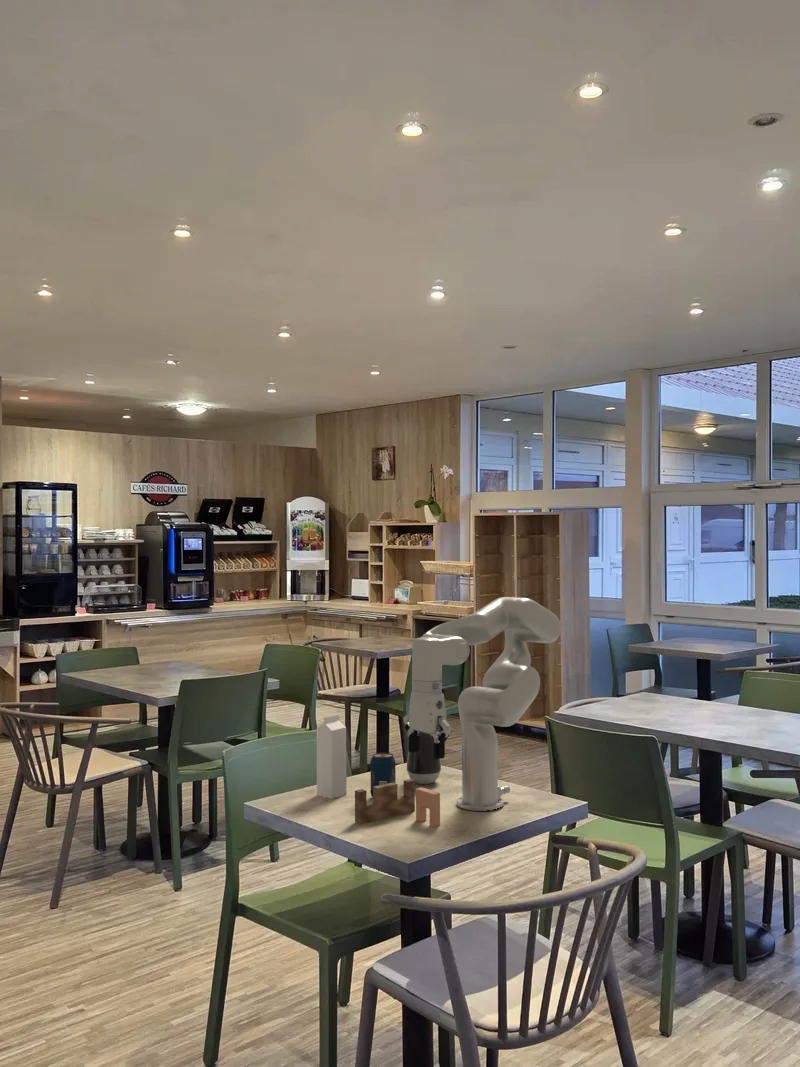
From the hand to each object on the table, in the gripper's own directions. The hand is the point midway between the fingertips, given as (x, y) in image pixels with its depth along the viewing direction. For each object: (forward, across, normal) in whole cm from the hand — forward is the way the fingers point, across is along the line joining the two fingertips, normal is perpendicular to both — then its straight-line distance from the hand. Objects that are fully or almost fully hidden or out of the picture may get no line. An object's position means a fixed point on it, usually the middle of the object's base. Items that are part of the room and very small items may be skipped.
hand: (426, 755), depth 229 cm
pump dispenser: (+17, +31, -26) cm, 44 cm away
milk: (+17, +37, +3) cm, 41 cm away
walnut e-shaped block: (+17, +11, +4) cm, 21 cm away
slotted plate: (+17, 0, -1) cm, 17 cm away
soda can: (+17, +25, -6) cm, 31 cm away
